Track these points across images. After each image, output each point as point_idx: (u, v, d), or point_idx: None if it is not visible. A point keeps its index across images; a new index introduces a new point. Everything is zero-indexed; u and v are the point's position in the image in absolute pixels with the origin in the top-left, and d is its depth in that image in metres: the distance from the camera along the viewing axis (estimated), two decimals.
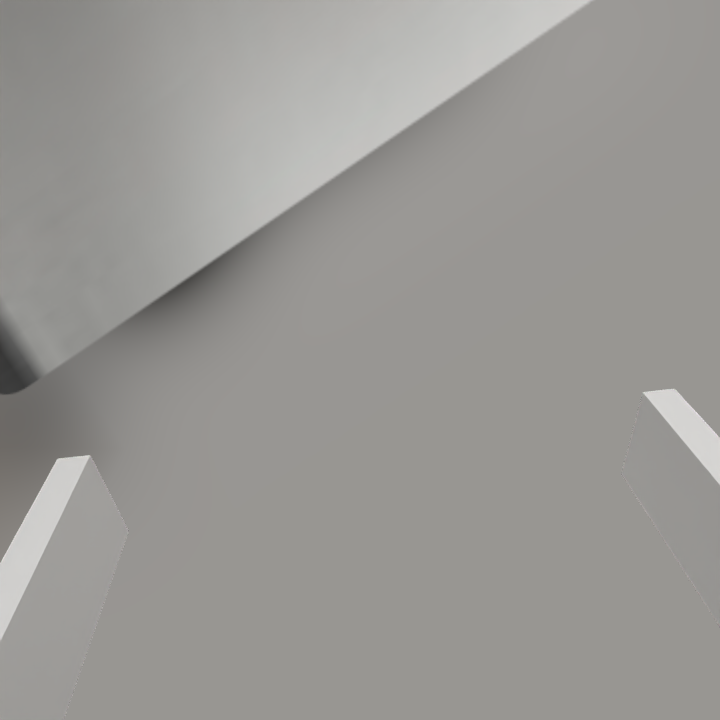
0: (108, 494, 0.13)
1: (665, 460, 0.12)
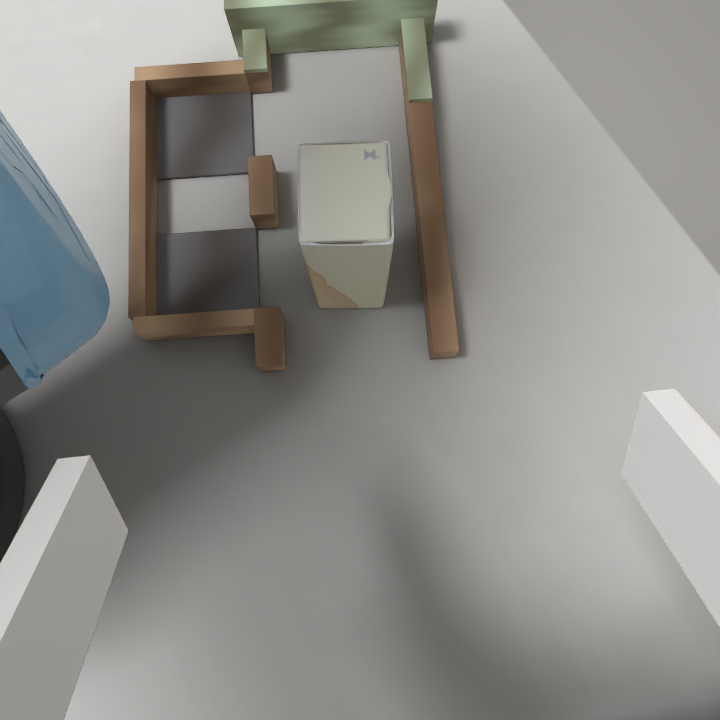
0: (108, 494, 0.13)
1: (665, 460, 0.12)
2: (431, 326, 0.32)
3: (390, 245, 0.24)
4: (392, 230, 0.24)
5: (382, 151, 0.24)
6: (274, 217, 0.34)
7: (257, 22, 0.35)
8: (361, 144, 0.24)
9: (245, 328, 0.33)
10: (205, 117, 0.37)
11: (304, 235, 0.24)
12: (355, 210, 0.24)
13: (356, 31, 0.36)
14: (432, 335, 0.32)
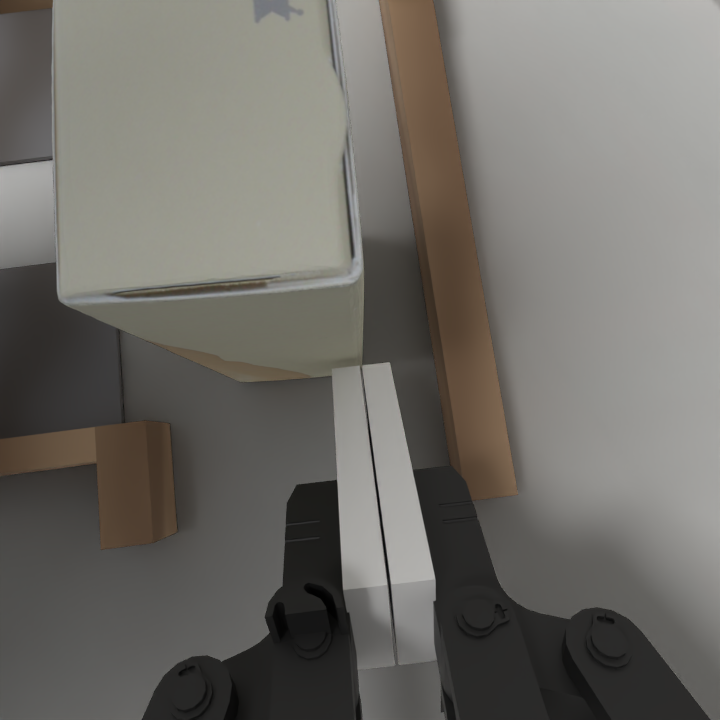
0: None
1: (368, 422, 0.14)
2: (458, 444, 0.16)
3: (353, 285, 0.08)
4: (356, 238, 0.07)
5: None
6: None
7: None
8: None
9: (86, 463, 0.16)
10: (15, 53, 0.20)
11: (73, 274, 0.07)
12: (231, 180, 0.07)
13: None
14: (461, 463, 0.16)
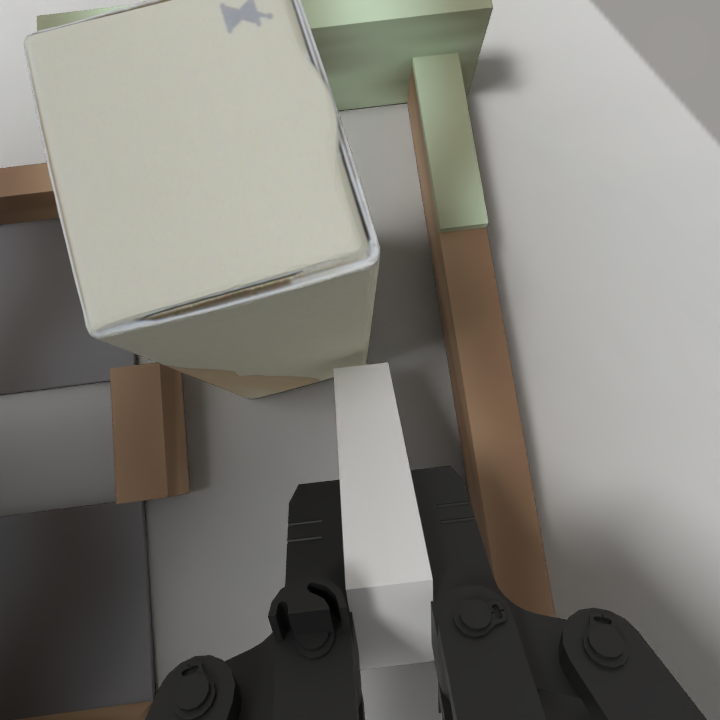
0: None
1: None
2: None
3: (373, 267, 0.08)
4: (368, 221, 0.08)
5: None
6: (172, 495, 0.16)
7: None
8: None
9: None
10: (38, 267, 0.19)
11: (100, 306, 0.07)
12: (237, 187, 0.08)
13: None
14: None
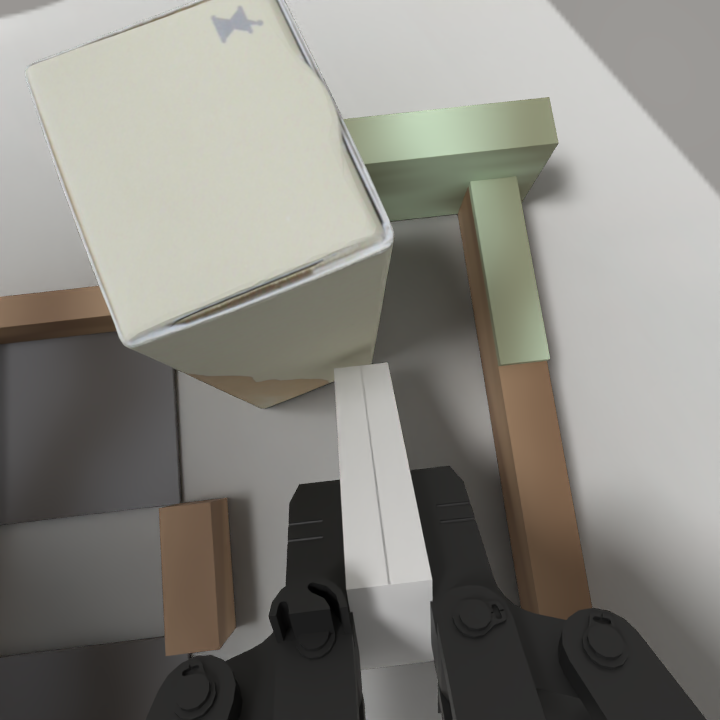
0: None
1: None
2: None
3: (389, 250, 0.08)
4: (379, 205, 0.08)
5: (263, 3, 0.08)
6: None
7: None
8: (198, 5, 0.08)
9: None
10: (80, 384, 0.18)
11: (131, 315, 0.08)
12: (250, 187, 0.08)
13: None
14: None
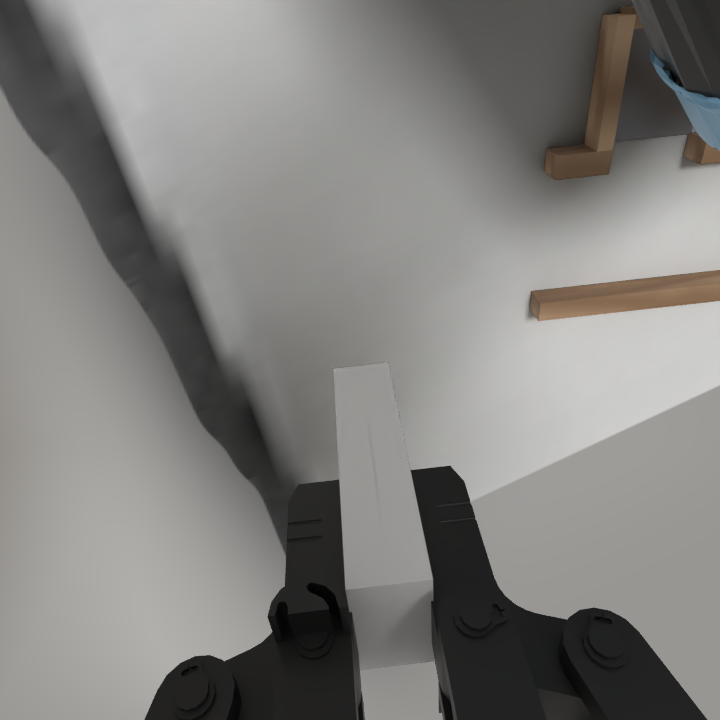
0: None
1: None
2: (561, 300, 0.40)
3: None
4: None
5: None
6: (696, 161, 0.35)
7: None
8: None
9: (593, 137, 0.34)
10: None
11: None
12: None
13: None
14: (554, 301, 0.40)
